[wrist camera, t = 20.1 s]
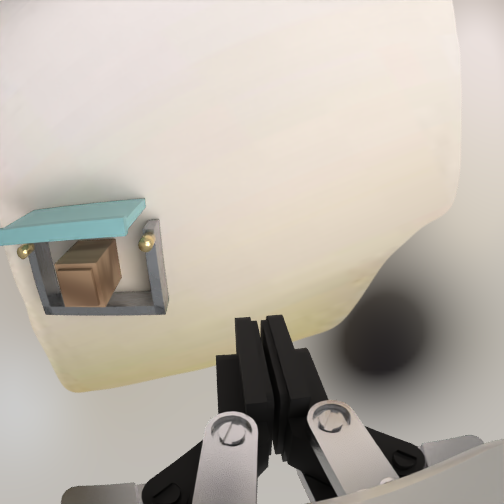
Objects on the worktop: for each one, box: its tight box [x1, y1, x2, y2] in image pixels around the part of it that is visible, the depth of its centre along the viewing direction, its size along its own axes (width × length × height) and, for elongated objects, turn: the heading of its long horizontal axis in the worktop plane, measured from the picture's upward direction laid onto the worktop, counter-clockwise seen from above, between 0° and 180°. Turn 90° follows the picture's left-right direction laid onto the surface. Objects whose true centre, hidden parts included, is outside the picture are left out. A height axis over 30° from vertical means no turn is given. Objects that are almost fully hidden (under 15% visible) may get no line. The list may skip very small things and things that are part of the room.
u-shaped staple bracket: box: [17, 219, 169, 315], centre depth 33 cm, size 10×17×6 cm, turn 91°
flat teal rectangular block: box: [0, 198, 146, 246], centre depth 28 cm, size 2×15×9 cm, turn 91°
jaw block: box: [54, 239, 122, 307], centre depth 32 cm, size 5×5×8 cm
